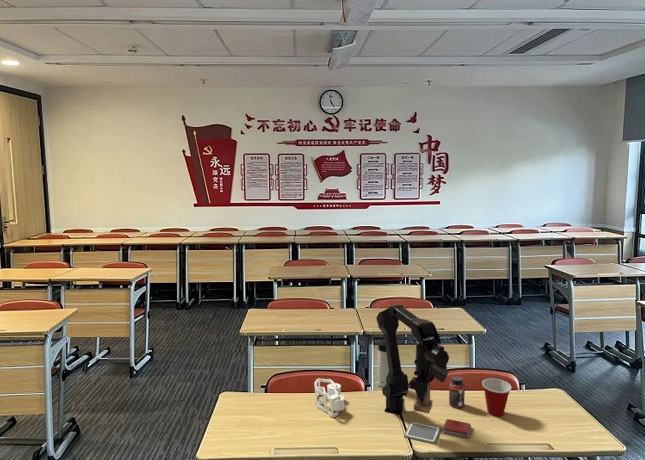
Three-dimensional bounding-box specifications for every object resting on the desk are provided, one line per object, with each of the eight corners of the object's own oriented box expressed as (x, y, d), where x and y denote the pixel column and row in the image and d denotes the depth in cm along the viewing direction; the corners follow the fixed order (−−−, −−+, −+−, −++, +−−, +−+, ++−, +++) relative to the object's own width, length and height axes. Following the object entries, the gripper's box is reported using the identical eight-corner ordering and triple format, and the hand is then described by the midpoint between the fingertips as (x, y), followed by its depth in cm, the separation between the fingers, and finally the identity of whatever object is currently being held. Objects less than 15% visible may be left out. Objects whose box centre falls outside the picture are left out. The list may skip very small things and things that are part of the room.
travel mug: (383, 390, 200) (383, 345, 198) (375, 384, 206) (375, 341, 204) (395, 387, 203) (395, 343, 201) (386, 381, 209) (386, 339, 207)
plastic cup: (487, 420, 173) (487, 390, 172) (477, 407, 184) (478, 378, 183) (515, 420, 174) (516, 390, 173) (504, 407, 184) (505, 378, 183)
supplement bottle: (465, 409, 182) (465, 382, 182) (449, 408, 184) (450, 380, 183) (463, 402, 188) (464, 376, 187) (448, 401, 190) (449, 374, 189)
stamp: (413, 410, 163) (414, 386, 162) (417, 404, 168) (417, 380, 167) (429, 413, 160) (429, 388, 160) (432, 406, 165) (432, 382, 165)
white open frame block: (346, 416, 177) (346, 398, 177) (317, 418, 176) (317, 399, 176) (339, 393, 197) (339, 377, 197) (313, 395, 196) (313, 378, 195)
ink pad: (442, 432, 165) (442, 428, 165) (446, 422, 172) (446, 418, 172) (468, 438, 161) (468, 433, 161) (471, 427, 168) (471, 423, 168)
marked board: (403, 437, 162) (403, 435, 162) (411, 422, 172) (411, 421, 172) (435, 444, 158) (435, 442, 158) (440, 429, 168) (440, 427, 167)
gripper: (442, 370, 151) (441, 415, 152) (451, 351, 168) (450, 393, 169) (409, 365, 155) (408, 409, 157) (421, 347, 172) (420, 387, 174)
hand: (423, 399), depth 164 cm, fingers closed on stamp, 4 cm apart
